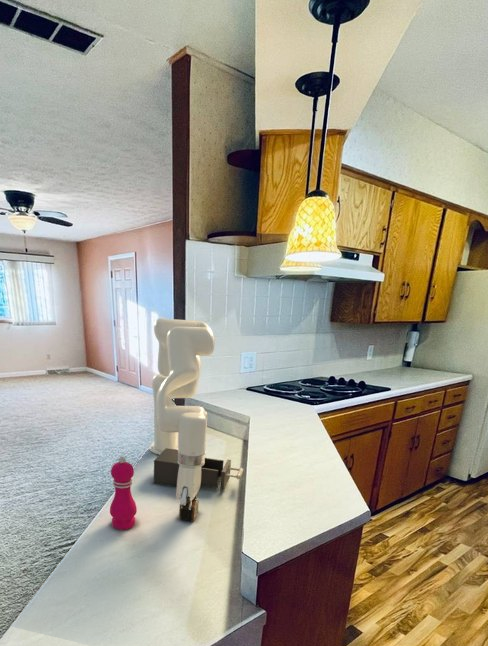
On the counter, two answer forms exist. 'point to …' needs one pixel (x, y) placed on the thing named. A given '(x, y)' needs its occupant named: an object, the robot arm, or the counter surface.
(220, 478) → the drawer
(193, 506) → the block
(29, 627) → the counter surface
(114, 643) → the counter surface
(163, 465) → the drawer cabinet
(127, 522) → the pepper mill
